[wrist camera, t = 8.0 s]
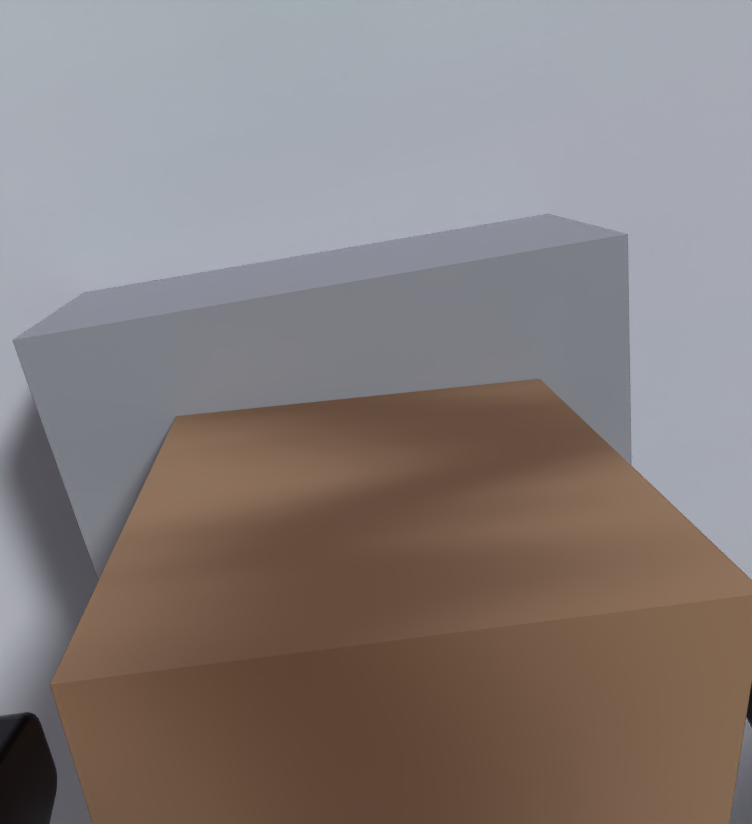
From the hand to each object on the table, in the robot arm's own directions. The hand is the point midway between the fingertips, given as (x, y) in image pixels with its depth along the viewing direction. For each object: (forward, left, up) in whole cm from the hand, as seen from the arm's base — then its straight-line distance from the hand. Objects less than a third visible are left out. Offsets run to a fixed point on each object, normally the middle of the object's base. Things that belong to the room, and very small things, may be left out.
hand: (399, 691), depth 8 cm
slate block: (0, 0, -6) cm, 6 cm away
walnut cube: (0, 0, -3) cm, 3 cm away
